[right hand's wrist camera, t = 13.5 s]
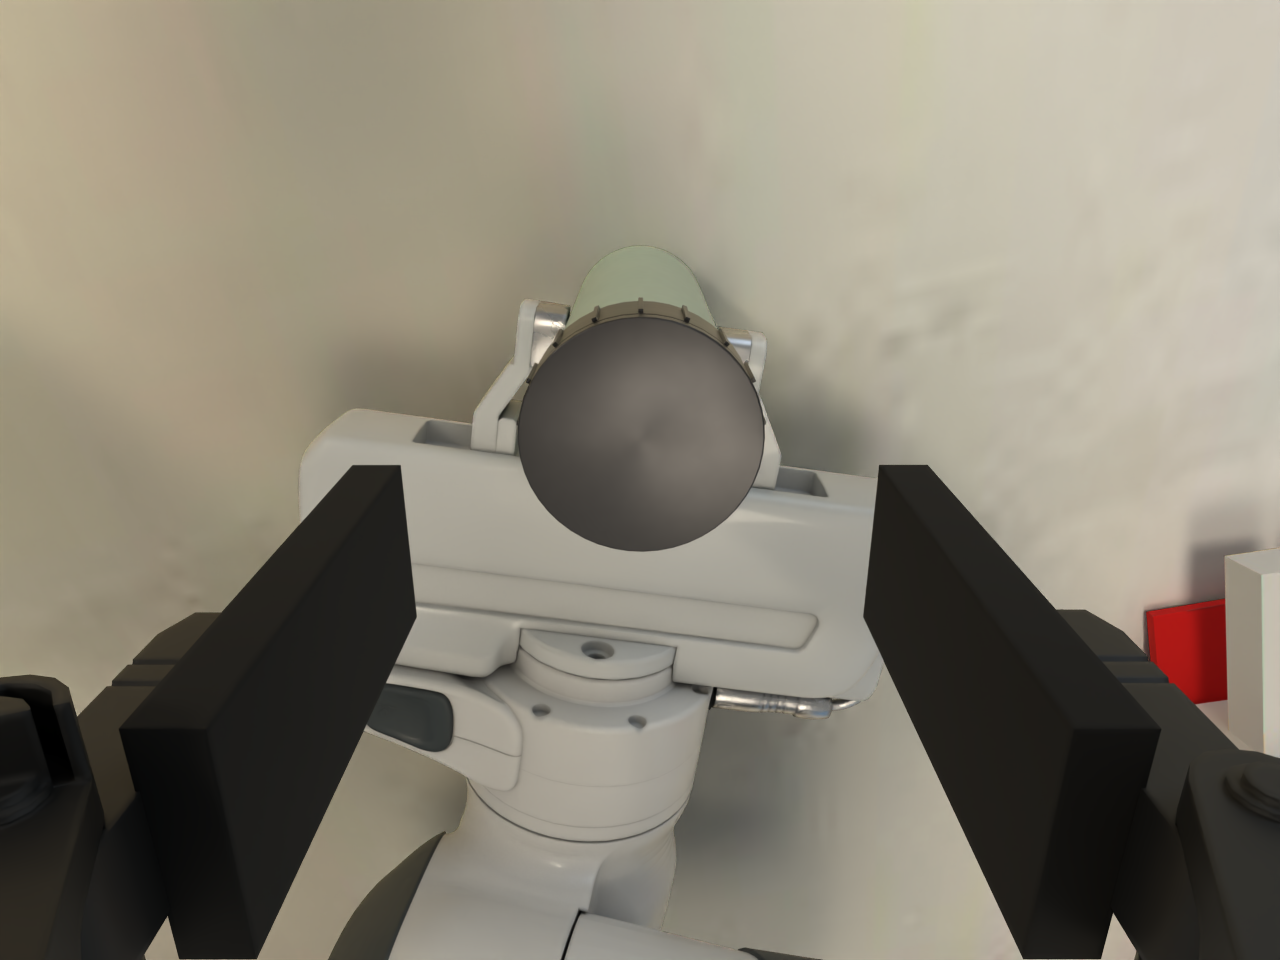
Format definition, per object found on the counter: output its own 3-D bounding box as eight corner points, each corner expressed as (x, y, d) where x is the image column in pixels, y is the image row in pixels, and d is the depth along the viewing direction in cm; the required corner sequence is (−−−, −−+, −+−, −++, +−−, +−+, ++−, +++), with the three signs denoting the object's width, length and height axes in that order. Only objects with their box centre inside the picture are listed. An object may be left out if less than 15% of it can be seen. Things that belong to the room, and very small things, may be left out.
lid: (566, 543, 22) (558, 581, 20) (492, 335, 20) (477, 355, 18) (778, 487, 21) (792, 520, 19) (723, 267, 19) (732, 281, 17)
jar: (598, 386, 34) (570, 556, 20) (560, 266, 32) (502, 361, 19) (717, 352, 34) (771, 502, 20) (684, 229, 32) (720, 298, 18)
